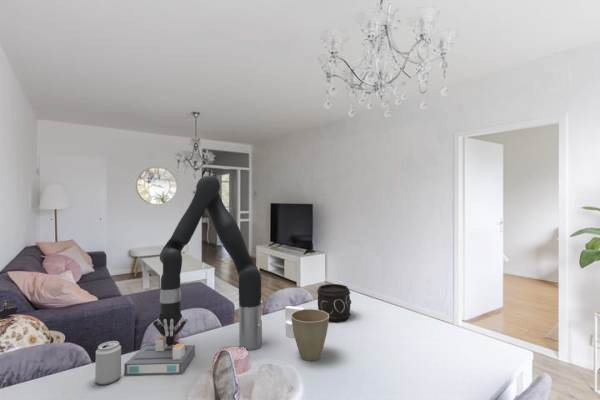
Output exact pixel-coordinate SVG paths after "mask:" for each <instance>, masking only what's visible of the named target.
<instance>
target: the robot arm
mask: <svg viewBox="0 0 600 400" xmlns="http://www.w3.org/2000/svg"><path fill="white" fill-rule="evenodd" d="M220 190H221V184H220V180H219V179H218V178H217V177H216V176H214V175H211V174H207V175H203V176H202V177H201V178H200V179H199V180H198V181H197V183H196V185H195V192H194V195H193V198H192V200H191V202H190V203H189V206H188V208H187V209H186V211H185V212H184V214H182V217H181V218H180V220H179V222H178V224H177V225H176V226H175V229H174V231H173V232H172V235H171V236H170V238H169V240H167V242H166V244H165V245H164V246H163V248H162V250H161V251H160V255H159V261H160V262H161V263H162V274H161V277H160V293H159V315H158V318H157V319H156V320H154V321H153V323H152V325H153V326H154V328H155V329H156V330H157V331H158V332H159V334H160V336H161V335H166V344H168V346H172V345H173V344H174V343H175V335H177V334H178V333H179V334H180V332H181V330H182V329H183V328H184V326H185V325H186V324H187V323H188V321H189V320H188V319H187V318H184V317H183V315H182V291H181V290H182V289H181V272H182V266H183V256H182V251H183V250H184V247H185V246H187V245H188V244H189V243H190V242H191V239H192V237H193V235H194V233H195V231H196V230H197V228H198V225H199V223H200V221H201V220H202V217H203V214H204V213H205V211H206V210H207V212H208V214H209V217H210V220H211V223H212V225H213V228H214V230H215V232H216V234H217V236H218V239H219V241H220V242H221V245H222V247H223V248H224V249H225V251H226V252H227V253H228V255H229V256H230V258H231V259H232V261H233V264H234V266H235V268H236V271H237V275H238V308H239V309H238V327H239V329H238V330H239V331H238V333H239V335H238V336H239V337H238V339H239V340H238V342H239V344H238V345H239V348H240V347H244V348H246V349H248V350H247V351H253V350H257V349H261V347H262V345H263V344H262V343H263V321H262V275H261V273H260V270H259V268H258V267H257V265H256V264H255V262H254V261H253V259H252V256H250V253H249V251H248V248H247V245H246V242H245V239H244V237H243V233H242V232H241V229H240V227H239V225H238V223H237V222H236V220H235V218H234V216H233V215H232V214H231V212H229V210H228V209H227V207H226V206H225V204H224V202H223V200H222V197H221V194H220ZM178 322H179V327H178V329H177V330H176V325H177V324H178ZM161 323H162V324H163V325H164V326H163V325H162V324H161Z"/></svg>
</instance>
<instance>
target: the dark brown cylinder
mask: <svg viewBox="0 0 600 400" xmlns="http://www.w3.org/2000/svg"><path fill="white" fill-rule="evenodd" d="M316 291H317V292H316V293H317V310H321V311H324V312H326V313H328V314H329V322H328V323H333V324H334V323H336V324H337V323H344V322H346V321H347V320H349V319H350V317H351V304H352V300H351V291H350V289H349V288H348V286H347V285H345V284H341V283H340V284H337V283H336V284H335V283H328V284H322V285H320V286H318V288H317V290H316Z"/></svg>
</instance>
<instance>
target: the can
mask: <svg viewBox="0 0 600 400" xmlns="http://www.w3.org/2000/svg"><path fill="white" fill-rule="evenodd" d="M121 376H122V345H120V342H119V341H117V340H112V341H110V340H109V341H106V342H103V343H100V344H99V345H98V346H97V349H96V350H95V383H97V384H99V385H100V386H101V385H103V386H104V385H109V384H112V383H114V382H116V381H118V379H120V378H121Z"/></svg>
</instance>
